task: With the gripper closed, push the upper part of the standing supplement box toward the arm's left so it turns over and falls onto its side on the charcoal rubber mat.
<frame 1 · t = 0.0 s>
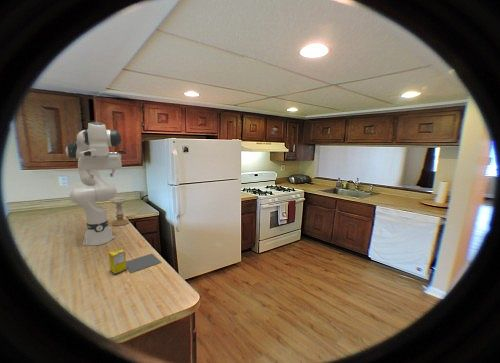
hand: (102, 177, 124), 48 cm above the counter, fingers open, 8 cm apart
candle holder: (120, 224, 189), on the counter
mat: (142, 262, 126), on the counter
supplement box: (118, 271, 118), on the counter
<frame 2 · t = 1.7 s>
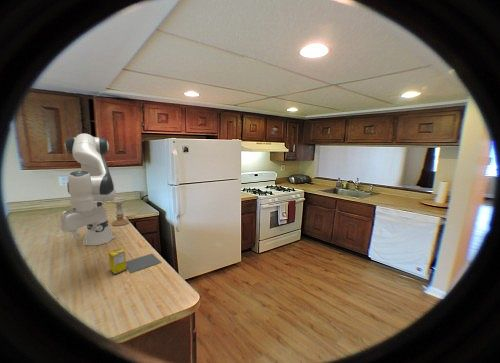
hand: (85, 234, 106), 24 cm above the counter, fingers open, 8 cm apart
nothing on the counter moved.
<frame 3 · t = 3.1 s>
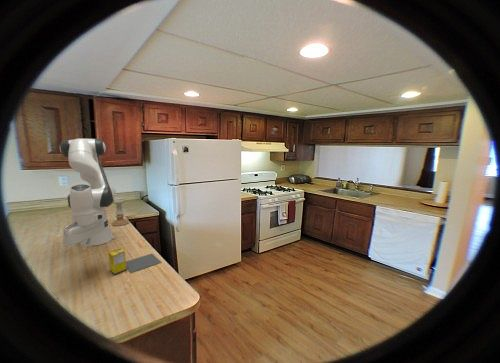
hand: (86, 247, 107), 17 cm above the counter, fingers closed
nothing on the counter moved.
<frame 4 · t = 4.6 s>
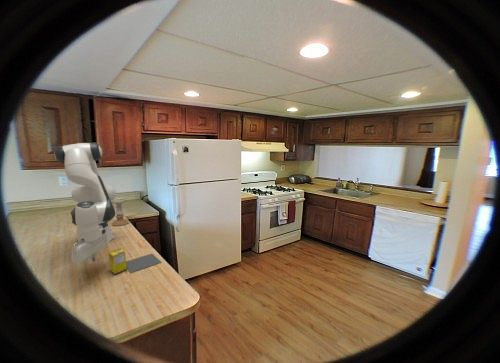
hand: (92, 261, 110), 9 cm above the counter, fingers closed
nothing on the counter moved.
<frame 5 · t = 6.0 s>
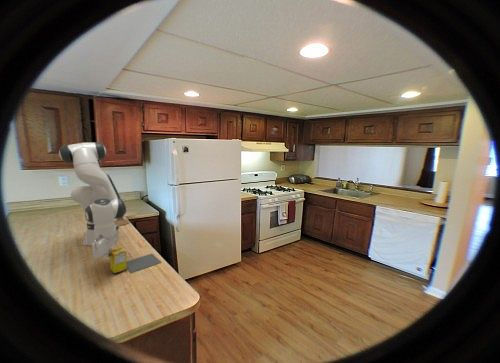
hand: (107, 257, 114), 9 cm above the counter, fingers closed
supplement box: (118, 270, 118), on the counter, touching gripper
everything else where it was.
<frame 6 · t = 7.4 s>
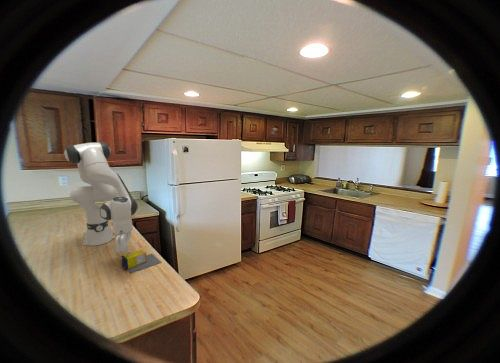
hand: (125, 252, 119), 9 cm above the counter, fingers closed
supplement box: (123, 262, 120), point 3 cm above the counter, touching mat
everything else where it was.
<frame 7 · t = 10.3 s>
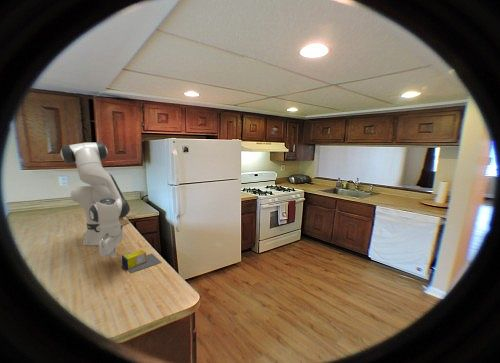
hand: (112, 256, 116), 9 cm above the counter, fingers closed
nothing on the counter moved.
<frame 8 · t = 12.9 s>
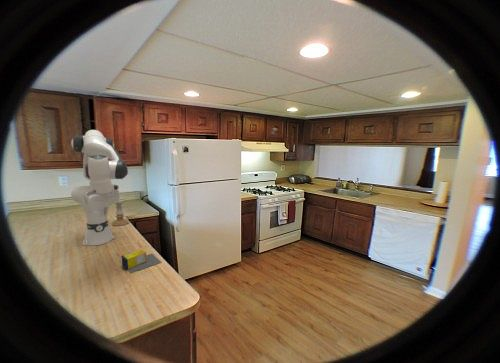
hand: (103, 216, 111), 31 cm above the counter, fingers closed
nothing on the counter moved.
at the end: supplement box tilted 90°; supplement box 9.3 cm from the mat (horizontally); the gripper is holding nothing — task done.
